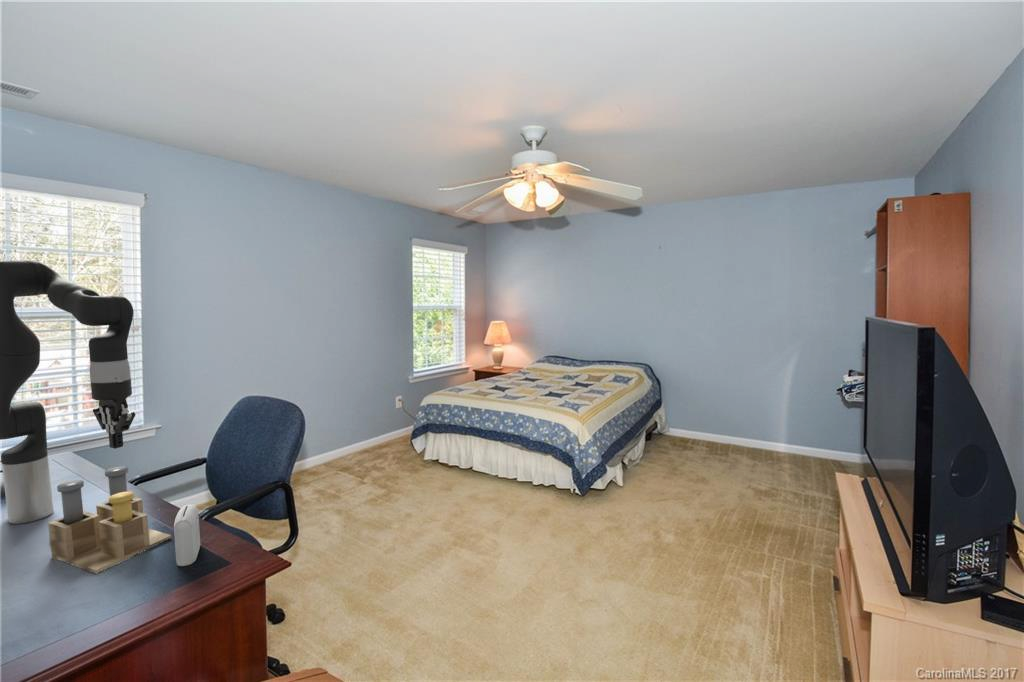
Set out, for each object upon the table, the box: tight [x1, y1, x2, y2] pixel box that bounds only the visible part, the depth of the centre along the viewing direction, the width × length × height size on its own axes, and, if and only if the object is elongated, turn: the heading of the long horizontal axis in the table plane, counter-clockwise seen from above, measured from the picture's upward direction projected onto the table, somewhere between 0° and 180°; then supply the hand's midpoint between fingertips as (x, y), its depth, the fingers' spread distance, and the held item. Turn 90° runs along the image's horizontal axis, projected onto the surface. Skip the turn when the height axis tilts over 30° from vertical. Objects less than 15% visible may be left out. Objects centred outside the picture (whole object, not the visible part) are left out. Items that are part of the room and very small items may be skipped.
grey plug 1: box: [56, 479, 85, 525], centre depth 118 cm, size 5×5×10 cm
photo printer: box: [173, 503, 201, 567], centre depth 118 cm, size 10×4×12 cm, turn 26°
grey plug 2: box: [104, 465, 129, 507], centre depth 127 cm, size 5×5×10 cm
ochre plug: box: [108, 491, 135, 524], centre depth 119 cm, size 5×5×10 cm
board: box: [47, 496, 172, 575], centre depth 122 cm, size 18×17×9 cm
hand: (116, 447), depth 118 cm, fingers closed
